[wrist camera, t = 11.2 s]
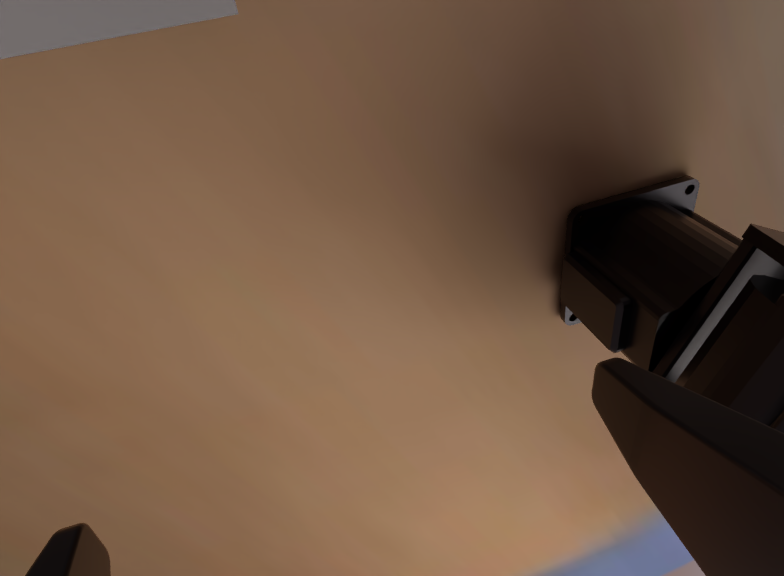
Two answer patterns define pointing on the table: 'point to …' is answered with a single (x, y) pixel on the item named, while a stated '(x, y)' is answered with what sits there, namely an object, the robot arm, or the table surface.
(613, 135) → the table surface
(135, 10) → the socket block
